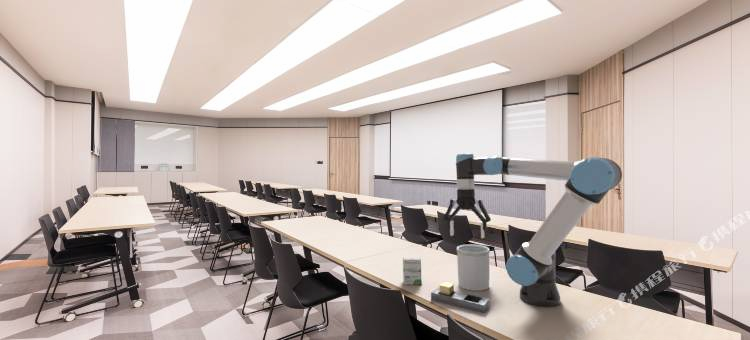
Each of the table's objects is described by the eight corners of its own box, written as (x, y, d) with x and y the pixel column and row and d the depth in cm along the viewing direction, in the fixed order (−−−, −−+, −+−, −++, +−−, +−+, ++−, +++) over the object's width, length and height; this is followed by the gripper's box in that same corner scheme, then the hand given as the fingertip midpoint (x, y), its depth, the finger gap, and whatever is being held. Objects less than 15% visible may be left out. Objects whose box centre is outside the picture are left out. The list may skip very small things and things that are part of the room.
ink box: (421, 281, 159) (421, 256, 159) (421, 285, 154) (421, 259, 154) (403, 280, 160) (403, 256, 160) (403, 284, 155) (402, 259, 155)
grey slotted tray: (489, 306, 130) (489, 298, 130) (483, 313, 124) (483, 305, 124) (438, 294, 143) (438, 287, 143) (431, 299, 137) (431, 292, 137)
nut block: (453, 298, 138) (453, 284, 137) (449, 301, 134) (449, 287, 134) (443, 295, 140) (443, 281, 140) (439, 299, 137) (439, 285, 136)
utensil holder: (454, 288, 149) (453, 250, 149) (459, 278, 163) (459, 243, 162) (488, 293, 143) (488, 253, 143) (491, 282, 157) (491, 245, 156)
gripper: (496, 188, 142) (498, 237, 142) (441, 187, 155) (443, 232, 155) (493, 189, 135) (494, 240, 135) (435, 189, 148) (437, 235, 148)
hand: (467, 236), depth 145 cm, fingers open, 13 cm apart
